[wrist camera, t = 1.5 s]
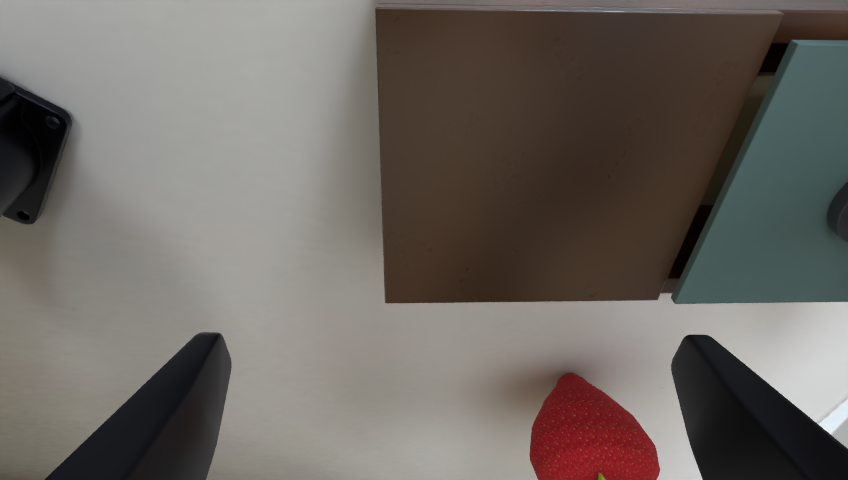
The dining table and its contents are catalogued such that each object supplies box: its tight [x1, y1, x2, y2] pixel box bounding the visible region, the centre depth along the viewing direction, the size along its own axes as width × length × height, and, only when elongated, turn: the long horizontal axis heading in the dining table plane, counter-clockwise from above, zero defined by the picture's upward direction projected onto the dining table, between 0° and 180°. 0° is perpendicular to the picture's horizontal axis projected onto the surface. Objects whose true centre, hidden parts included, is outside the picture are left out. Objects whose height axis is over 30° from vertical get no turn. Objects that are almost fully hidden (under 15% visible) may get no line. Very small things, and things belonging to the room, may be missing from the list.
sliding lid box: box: [375, 0, 848, 303], centre depth 20 cm, size 24×12×4 cm, turn 89°
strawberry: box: [530, 374, 660, 480], centre depth 29 cm, size 6×8×10 cm
